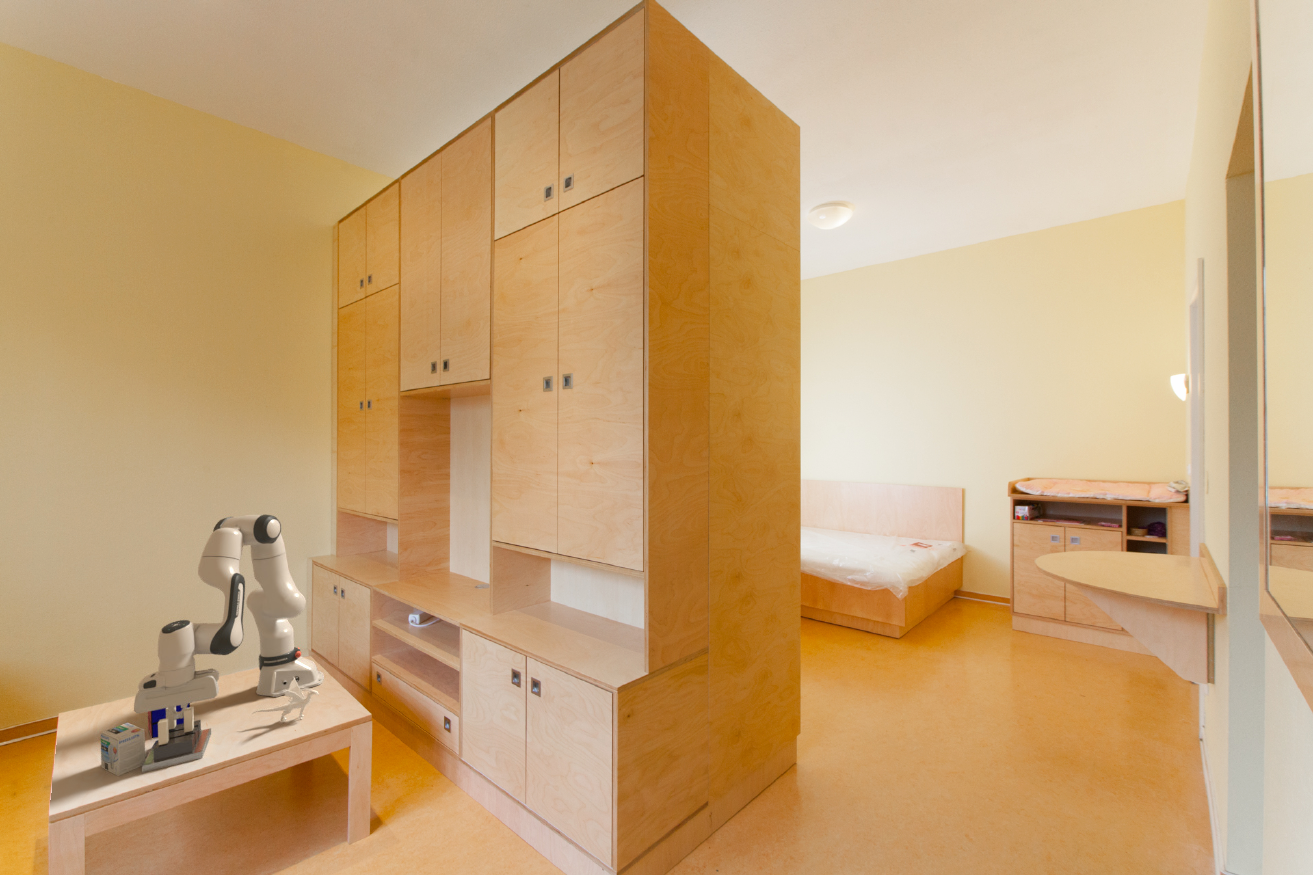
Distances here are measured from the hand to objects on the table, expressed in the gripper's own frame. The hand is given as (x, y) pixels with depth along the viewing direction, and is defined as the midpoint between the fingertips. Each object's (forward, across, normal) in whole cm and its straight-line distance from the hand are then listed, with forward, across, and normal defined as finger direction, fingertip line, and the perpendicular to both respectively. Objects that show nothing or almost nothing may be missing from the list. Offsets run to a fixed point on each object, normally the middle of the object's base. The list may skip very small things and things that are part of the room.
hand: (178, 718), depth 177 cm
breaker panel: (+11, 0, 0) cm, 11 cm away
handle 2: (+4, +3, -5) cm, 7 cm away
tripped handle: (+4, -2, 0) cm, 5 cm away
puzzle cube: (+11, +6, -21) cm, 24 cm away
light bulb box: (+11, +13, 0) cm, 17 cm away
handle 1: (+4, +3, +5) cm, 7 cm away
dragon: (+11, -28, -5) cm, 30 cm away
